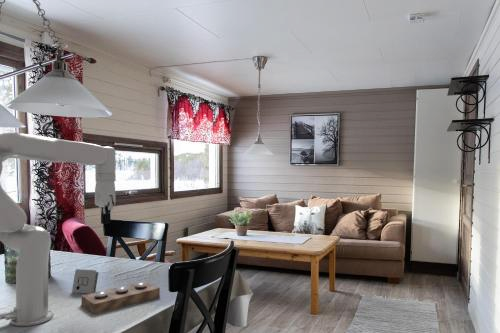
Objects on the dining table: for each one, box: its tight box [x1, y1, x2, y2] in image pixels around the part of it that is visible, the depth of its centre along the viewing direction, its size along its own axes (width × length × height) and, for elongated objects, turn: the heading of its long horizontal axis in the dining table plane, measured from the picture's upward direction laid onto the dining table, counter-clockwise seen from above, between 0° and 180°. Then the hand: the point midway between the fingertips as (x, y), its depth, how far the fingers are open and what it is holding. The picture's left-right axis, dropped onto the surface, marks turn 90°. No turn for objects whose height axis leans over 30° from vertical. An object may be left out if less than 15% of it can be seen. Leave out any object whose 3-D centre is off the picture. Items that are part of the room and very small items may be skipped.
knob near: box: [94, 290, 108, 299], centre depth 143 cm, size 4×4×4 cm
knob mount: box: [80, 281, 161, 315], centre depth 149 cm, size 26×12×4 cm, turn 134°
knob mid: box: [115, 285, 128, 294], centre depth 149 cm, size 4×4×4 cm
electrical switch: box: [71, 268, 99, 294], centre depth 160 cm, size 9×5×9 cm, turn 78°
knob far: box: [134, 281, 147, 289], centre depth 154 cm, size 4×4×4 cm
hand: (105, 223), depth 154 cm, fingers closed
